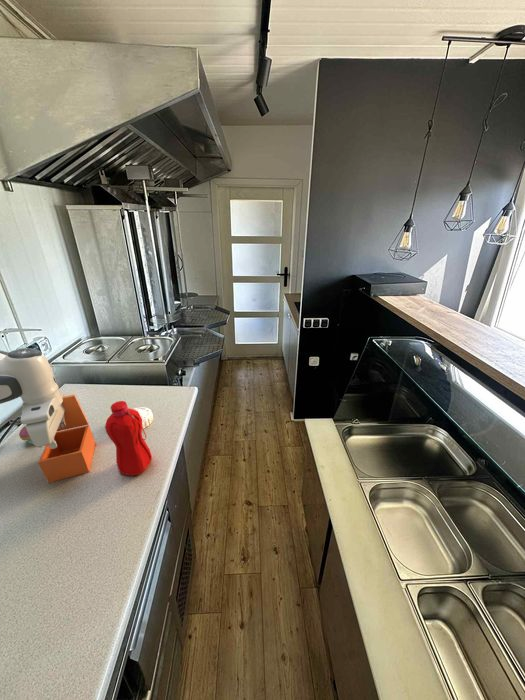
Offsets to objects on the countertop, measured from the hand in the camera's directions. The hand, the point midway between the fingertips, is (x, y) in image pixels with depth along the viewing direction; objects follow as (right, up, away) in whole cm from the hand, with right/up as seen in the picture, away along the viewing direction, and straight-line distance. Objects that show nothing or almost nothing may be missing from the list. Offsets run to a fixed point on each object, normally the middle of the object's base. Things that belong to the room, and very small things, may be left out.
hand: (58, 436), depth 90 cm
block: (+1, -11, +5) cm, 12 cm away
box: (0, -11, +8) cm, 13 cm away
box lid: (-2, +6, +5) cm, 8 cm away
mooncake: (+14, -2, +25) cm, 29 cm away
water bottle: (+23, -11, +5) cm, 26 cm away
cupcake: (-20, -7, +18) cm, 27 cm away
